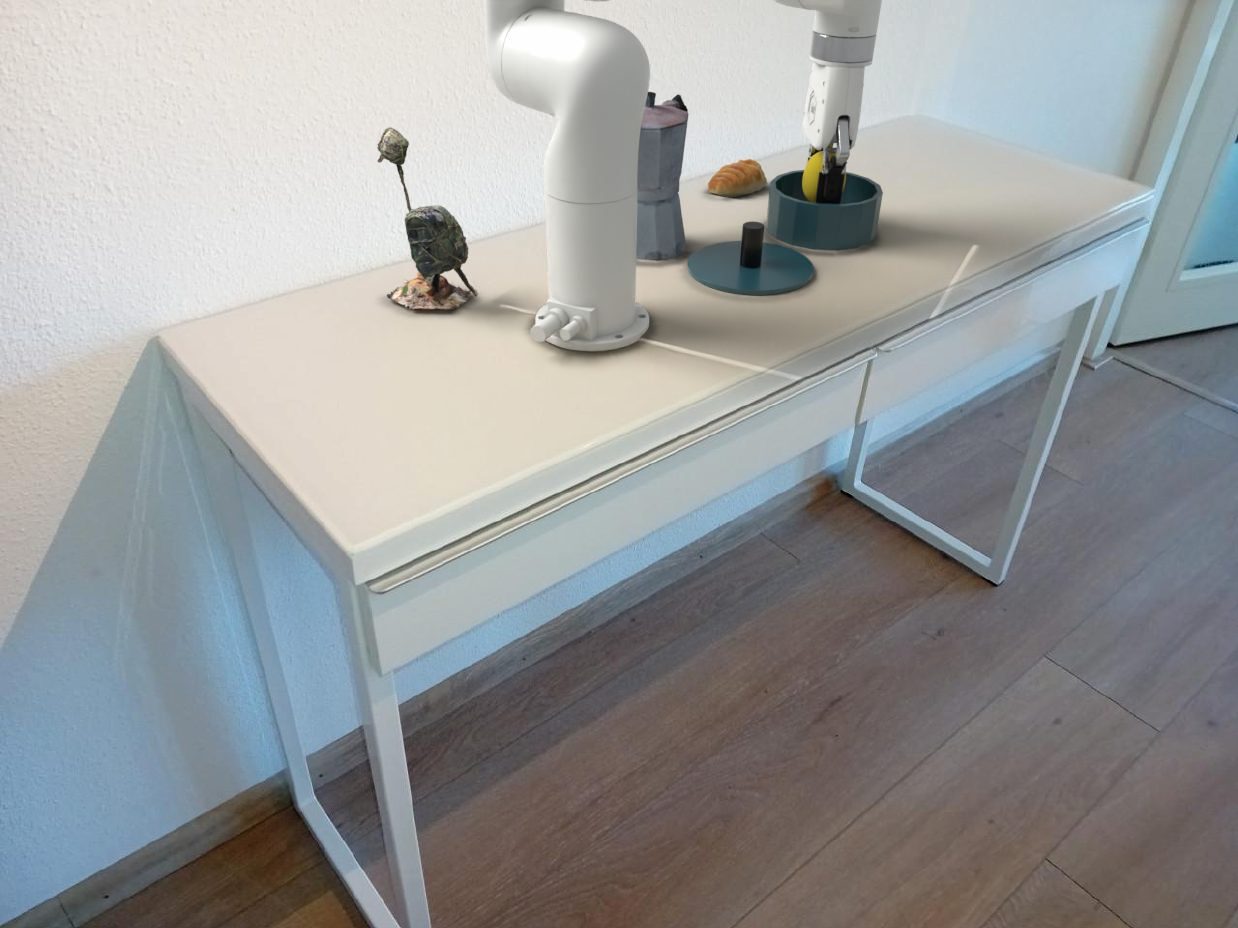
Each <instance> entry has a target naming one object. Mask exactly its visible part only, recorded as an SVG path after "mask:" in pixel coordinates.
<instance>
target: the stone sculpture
mask: <svg viewBox="0 0 1238 928" xmlns="http://www.w3.org/2000/svg"><path fill="white" fill-rule="evenodd" d="M409 145H410V143H409V140H408V139H407V138H406V137H404V136H403V134H402V133H401V132H400V131H398V130H396V129H395V128H393V127H392V126H390V127H389V126H388V127H386V128H385V129H384V130H383V132H382V134H381V136H380V141H378V143H377V147H376V148H377V151H378V152H379V153H380V155H379V157H378V159H377V163H378V164H379V163H380V164H381V163H382V162H383V160H387V161H388V162H389V163H391V164H394V165H396V169H397V173H398V176H399V179H400V183H401V185H402V187H403V192H404V197H405V202H406V207H407V210H408V212H407V213H406V214H405V217H404V225H405V232H406V236H407V241H408V244H409V249H410V255H411V259H412V260H413V262H414V264H415V269H417V273H416V277H415V278H412V279H409V280H407V279H404V281H405V282H404V283H402V284H401V285H400V286H399V287H396V288H395V289H394V290H392V291H390V293H387V294H386V298H387V299H389V300H391V301H393V302H395V304H396V303H397V304H399V305H402V306H404V308H407V307H409V308H408V310H415V309H420V310H435V309H439V310H448V311H450V310H455V309H457V308H460V307H461V306H460V305H462V306H463V305H464V304H465V302H468V300H470V299H471V297H472V295H473V296H474V297H478V296H479V293H478V290H477V289H476V288H474V286H472V285H471V284H470V283H469V280H468V278H467V276H466V274H465V273H464V271H463V269H462V266H463V264H466V263H467V260H468V257H469V256H468V255H469V246H468V244H467V242H466V241H467V240H466V239H467V237H466V236H464V231H463V228H462V226H461V225H460V223H459V221H458V220H457V219H456V218H455V216H454V215H452V213H451V211H449V210H448V209H447V208H446V207H444V206H442V205H427V206H419V207H417V208H412V206H411V201H410V197H409V192H408V189H407V186H406V183H405V177H404V175H405V173H404V169H403V165H404V164H405V163H406V158H407V151H408V148H409ZM453 270H454V271H455V272H456V274H457V275H458V277H459V278H460V279H461V281H462V282H463V284H464V285H465V287H466V288H467V289H466V288H462V287H461V286H459V285H457V284H455V283H453V282H452V283H450V282H449V281H448V278H446V277H445V276H443V274H444V273H445V272H446V273H448V272H450V271H453ZM471 294H472V295H471Z"/></svg>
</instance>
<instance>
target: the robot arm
mask: <svg viewBox="0 0 1238 928" xmlns="http://www.w3.org/2000/svg"><path fill="white" fill-rule="evenodd" d="M565 1H566V0H483V6H484V7H483V14H484V37H485V38H484V39H485V40H484V41H485V52H486V53H485V54H486V62H487V66H488V70H489V74H490V77H491V79H492V81H493V83H494V85H495V86H496V88H497V90H498V91H499V92H500V93H501V95H503V96H504V97H505V98H507V99H508V100H509V101H511V102H513V103H515V104H518V105H520V106H522V107H526V108H529V109H531V110H534V111H538V112H541V113H544V114H547V115H549V116H551V117H554V118H556V125H555V129H554V132H553V134H552V137H551V139H550V141H549V143H548V146H547V149H546V152H545V155H544V160H543V170H542V171H543V172H542V173H543V190H544V208H545V209H544V214H545V215H544V216H545V238H546V239H545V240H546V263H547V265H546V266H547V267H546V268H547V292H548V299H547V300H546V304H544V305H542V307H540V308H539V310H538V311H537V312H536V314H535V317H534V321H535V323H534V325H532V326H531V328H530V330H529V333H530V337H531V338H532V339H533V341H534V342H536V343H544V342H545V341H546V342H548V343H549V344H552V345H553V346H556V347H560V348H562V349H567V350H571V351H578V352H607V351H612V350H617V349H621V348H625V347H627V346H630V345H633V344H635V343H636V342H638V341H640V340H641V339H642V336H643V335H644V334H646V332H647V331H648V329H649V327H650V314H649V313H648V311H647V309H645V308H644V306H643V305H641V304H640V303H638V302H637V301H636V300H637V299H636V297H637V259H636V247H637V172H638V150H639V138H640V130H641V124H642V118H643V113H644V108H645V104H646V99H647V94H648V92H649V88H650V81H651V67H650V66H651V65H650V60H649V56H648V54H647V51H646V48H645V47H644V45H643V43H642V42H641V41H640V39H639V38H638V37H637V36H636V35H635V34H634V33H633V32H631V30H629V29H627V28H626V27H625V26H623V25H621V24H619V23H617V22H615V21H612V20H608V19H606V18H601V17H597V16H592V15H587V14H583V13H579V12H578V13H577V12H572V11H565ZM585 1H588V2H609V1H610V0H585ZM773 1H774V2H775V3H777V4H779V5H783V6H786V7H790V8H791V7H792V8H796V9H801V10H808V11H815V12H814V19H813V28H812V37H811V44H810V53H809V61H810V62H812V66H811V70H810V75H809V79H808V80H809V81H808V85H807V92H806V97H805V102H804V103H805V104H804V108H803V115H802V122H801V131H802V134H803V136H804V137H805V138H806V139H807V141H808V142H809V148H808V157H807V162H808V161H809V159H810V158H811V157H812V156H813V155H814V154H816V153H818V152H820V151H823V162H822V172H819V177H818V184H817V191H816V199H815V201H816V203H819V204H840V202H841V196H842V190H843V183H844V177H845V172H847V164H848V160H849V158H850V155H851V150H852V149H853V148H854V147H855V145H856V142H857V137H858V132H859V126H860V125H859V124H860V120H861V119H860V118H861V111H862V101H863V95H864V94H863V93H864V87H865V86H864V85H865V82H864V81H865V70H866V69H865V67H869V66H871V65H872V64H873V59H874V52H875V47H876V46H875V45H876V39H877V33H878V27H879V20H880V15H881V14H880V13H881V8H882V1H883V0H773ZM834 144H836V147H834ZM829 153H835V156H832V157H831V159H830V161H829Z"/></svg>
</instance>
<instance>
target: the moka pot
mask: <svg viewBox="0 0 1238 928" xmlns="http://www.w3.org/2000/svg"><path fill="white" fill-rule="evenodd" d="M656 97H657V93H656V92H654V91H648V94H647V99H646V104H645V108H644V113H643V118H642V124H641V130H640V138H639V150H638V172H637V247H636V260H644V261H657V262H659V261H663V260H670V259H675V258H678V257H679V256H680V255H683V253H684V252H685V251H686V250H687V242H686V235H685V228H684V221H683V220H684V219H683V214H682V205H681V199H680V198H681V197H680V194H679V192H680V179H681V176H682V171H683V163H684V153H685V146H686V137H687V128H688V121H689V110H688V108H687V106H686V104H685V102H684V101H683V97H682V95H681V94H676V95H675V96H674V97H672V99H667V100H665V101H663V102H662V103H661V104H655V103H656Z"/></svg>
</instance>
